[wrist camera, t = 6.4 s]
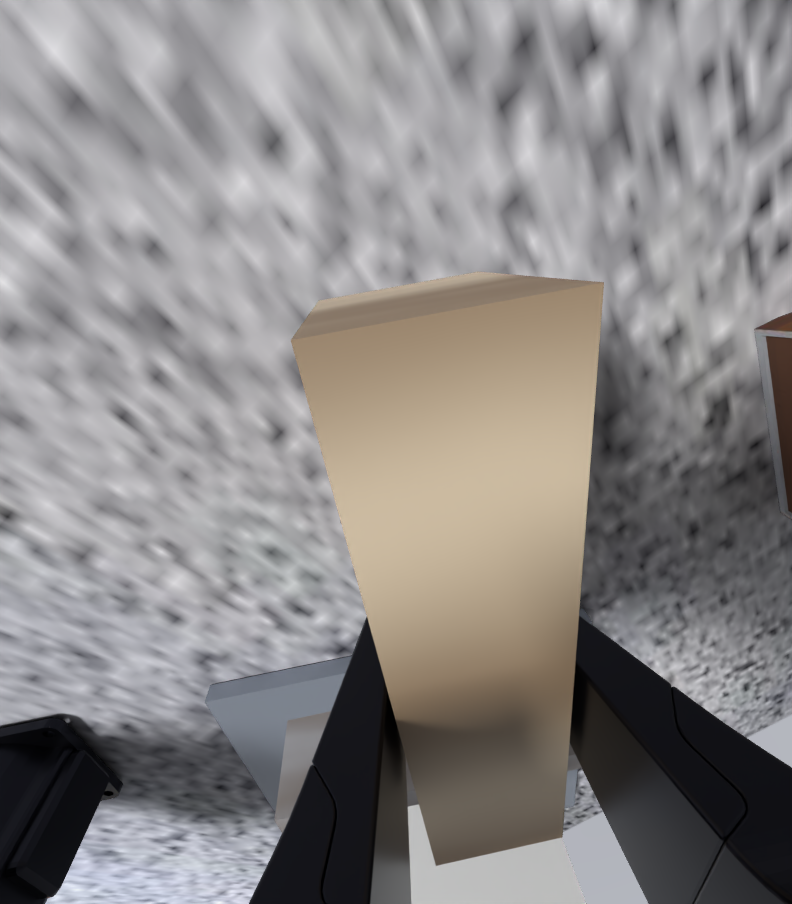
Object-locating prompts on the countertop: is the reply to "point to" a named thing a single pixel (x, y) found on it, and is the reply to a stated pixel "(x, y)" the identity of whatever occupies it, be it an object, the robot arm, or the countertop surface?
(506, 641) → the block
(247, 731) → the slate board
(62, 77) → the countertop surface
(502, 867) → the tile
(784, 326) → the food container
